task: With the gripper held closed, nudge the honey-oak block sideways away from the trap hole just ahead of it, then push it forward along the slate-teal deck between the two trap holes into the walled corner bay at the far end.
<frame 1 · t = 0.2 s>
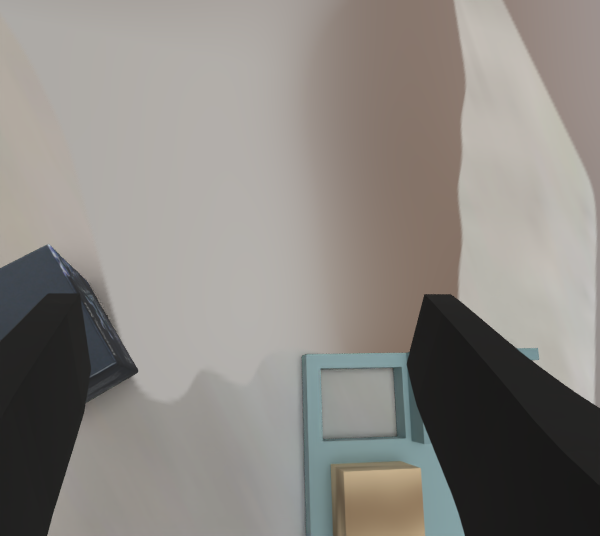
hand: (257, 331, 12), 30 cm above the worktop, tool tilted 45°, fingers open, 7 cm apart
box: (78, 345, 41), on the worktop
trap deck: (413, 492, 42), on the worktop
block: (367, 500, 39), point 2 cm above the worktop, touching trap deck
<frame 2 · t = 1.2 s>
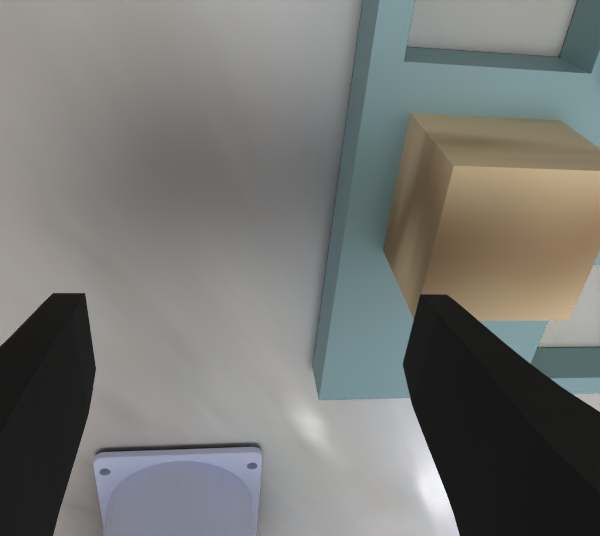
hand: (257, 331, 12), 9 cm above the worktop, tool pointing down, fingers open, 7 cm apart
trap deck: (548, 168, 22), on the worktop
block: (466, 188, 19), point 2 cm above the worktop, touching trap deck
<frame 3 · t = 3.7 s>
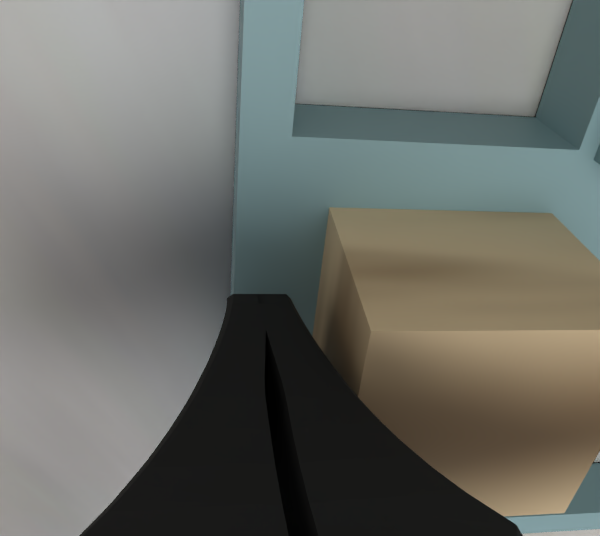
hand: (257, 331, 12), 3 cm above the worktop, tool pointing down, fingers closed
trap deck: (523, 260, 16), on the worktop
block: (420, 303, 14), point 2 cm above the worktop, touching gripper
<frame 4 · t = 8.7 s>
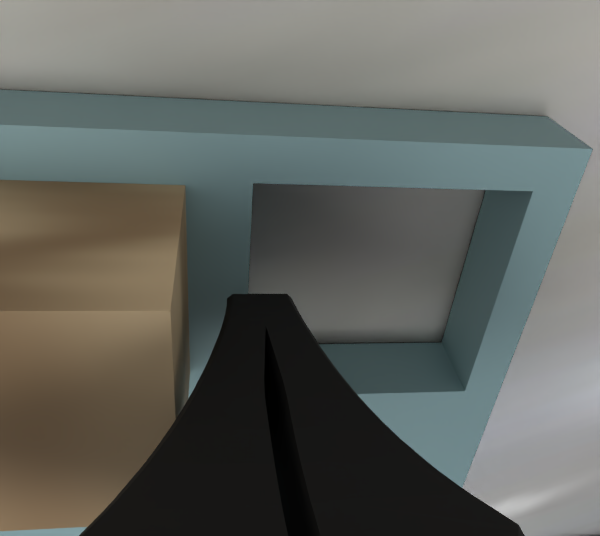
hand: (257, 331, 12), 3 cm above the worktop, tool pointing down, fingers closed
trap deck: (134, 372, 17), on the worktop
block: (69, 287, 12), point 2 cm above the worktop, touching gripper, trap deck
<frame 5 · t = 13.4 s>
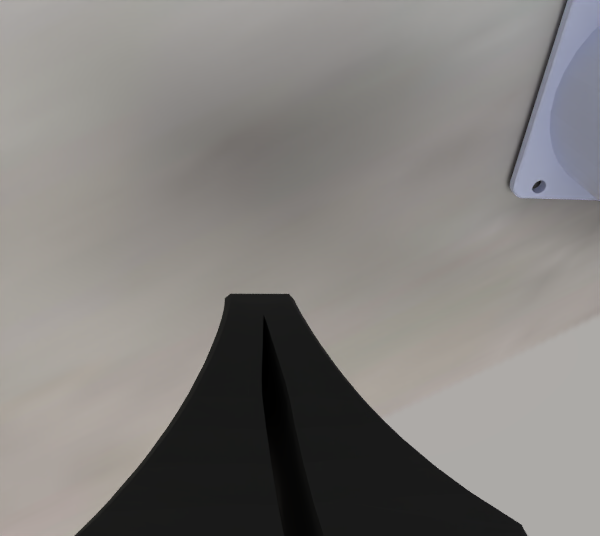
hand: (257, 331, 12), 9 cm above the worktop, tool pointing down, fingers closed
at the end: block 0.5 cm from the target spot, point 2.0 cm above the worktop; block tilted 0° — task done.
